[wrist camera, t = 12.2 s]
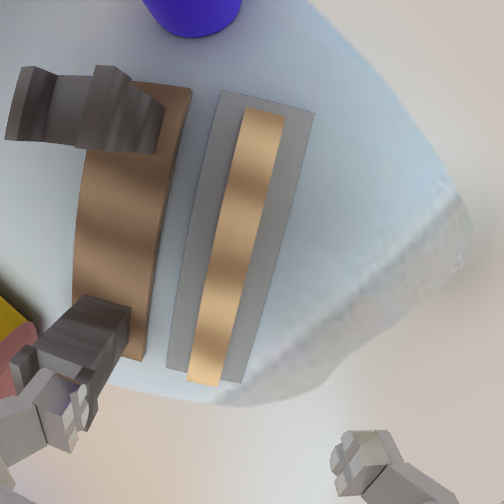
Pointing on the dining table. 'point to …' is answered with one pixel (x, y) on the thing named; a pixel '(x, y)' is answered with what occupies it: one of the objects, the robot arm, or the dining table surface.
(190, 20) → the bottle
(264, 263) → the mat
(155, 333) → the dining table surface
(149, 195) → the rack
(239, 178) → the rail
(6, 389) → the alarm clock
